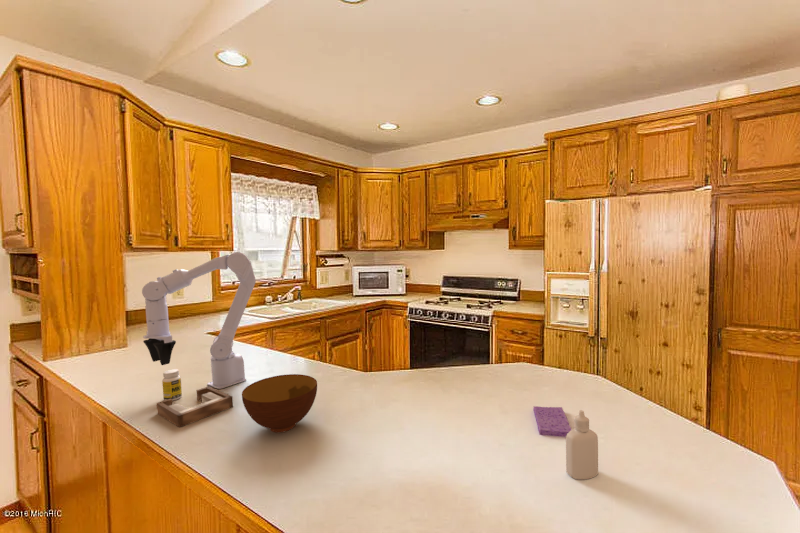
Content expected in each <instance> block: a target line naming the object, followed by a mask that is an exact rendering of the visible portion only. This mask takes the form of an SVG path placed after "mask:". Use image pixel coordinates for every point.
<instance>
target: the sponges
mask: <svg viewBox="0 0 800 533" xmlns="http://www.w3.org/2000/svg"><path fill="white" fill-rule="evenodd" d="M532 408H533V413H534V418H535V422H536V426H537V431H538V435H539V436H551V437H562V438H563V437H565V438H566V436H567V434H568V433H569V432H570V431H571V430H572V427H571V425H570V422H569V420H568V418H567V416H566V414H565V411H564V408H563V407H562V406H561V407H559V406H550V407H547V406H536V405H534V406H533V407H532Z"/></svg>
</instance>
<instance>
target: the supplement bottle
mask: <svg viewBox="0 0 800 533" xmlns="http://www.w3.org/2000/svg"><path fill="white" fill-rule="evenodd" d="M162 376H163V379H162V381H161V382H162V383H161V384H162V393H163V394H162V395H163V401H165V400H168V399H172V402H173V401H177V400H179V399H181V398H182V396H183V394H182V379H181V378H182V377H181V376H180V370H179V369H178V368H173V369H168V370H165V371H163V373H162Z"/></svg>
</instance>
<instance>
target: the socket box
mask: <svg viewBox="0 0 800 533" xmlns="http://www.w3.org/2000/svg"><path fill="white" fill-rule="evenodd" d="M196 400H197V401H198V402H199V400H200V401H201V404H197V405H194V406H191V407H189V408H188V407H185V406H184V405H182V404H180V403H178V402H177V403H174V404H173V401H172V399H168V400H165V401H164V400H161V401H158V402H157V403H156V412H157V415H159V416H160V417H162V418H164V419H165V420H167V421H169V422H170V423H172V424H174V425H175V426H177V427H178V428H181V427H184V426H186V425H190V424H192V423H194V422H197V421H200V420H202V419H205V418H207V417H211V416H213V415H215V414H218V413H221V412H223V411H226V410H228V409H230V408H233V407H234V405H233V403H234V402H233V401H234V400H233V396H232V395H230V394H228V393H226V392H224V391H223V392H222V391H221V390H219V389H217V388H214V387H212V386H209V385H207V386H206V387H205V386H204V387H203V388H199V389H196Z"/></svg>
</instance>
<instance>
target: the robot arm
mask: <svg viewBox="0 0 800 533" xmlns="http://www.w3.org/2000/svg"><path fill="white" fill-rule="evenodd" d="M228 269H229V270H230V271H232V272H233V273H234V274H235V275H236V277H237V279H238V281H239V284H238V288H237V289H236V292H235V294H234V295H235V296H234V297H233V300H232V303H231V305H230V307H229V310H228V312H227V315H226V318H225V319H224V321H223V325H222V327H221V329H220V331H219V334H218V335H217V336H216V337H215V338H214V340H213V342H212V344H211V345H210V346H211V347H210V350H209V352H210V355H211V356H210V366H211V377H212V378H211V380H212V381H211V382H207V384H206V385H207V386H209V387H211V388H214V389H216V390H222V389H225V388H227V387H230V386H233V385H235V384H240V383H243V382H245V381H247V378H246V375H245V361H244V360H245V359H244V358H243V355H241V354H240V353H235V352H234V351H233V346H234V338H235V335H236V333H237V330H238V328H239V324H240V322H241V320H242V317H243V315H244V313H245V310H246V308H247V304H248V302H249V300H250V297H251V295H252V293H253V291H254V289H255V288H254V287H255V285H256V283H257V282H256V280H257V279H256V277H255V272H254V268H253V266H252V262H251V260H250V259H249V258H248V256H247V255H246V254H245V253H243V251H242V252H240V251H235V252H232V253H229V254H225V255H222V256H218V257H214V258H212V259H210V260H209V261H206V262H204V263H202V264H200V265H198V266H195V267H193V268H191V269H189V270H187V269H183V268H180V269H178V268H176V269H173V270H172V272H171V273H169V274H167V275H164V276H158V277H156V280H154V281H153V280H152V281H149V282H147V283H146V284H145V285H144V286H143V287H142V289H141V294H142V296H143V298H144V299H145V300H144V301H145V319H146V329H147V330H146V335H143V336H142V338H143V339H145V340H143V341H142V342H143V343H144V345H145V346H146V348H147V349H148V352H149V354H150V357H151V358H150V359H151V361H152V362H153V363H154V362H155V363H156V362H157V361H159V362H160V365H161V366H165V365H168V364H170V362H171V358H172V353H173V349H174V347H175V346H176V343H177V342H176V340H174V339H173V335H171V331H170V323H169V321H170V320H169V308H168V303H167V295H169V294H170V295H171V294H173V293H176V292H177V291H180V290H183V289H185V288H187V287H189V286H191V285H192V283H193V280H194V279H197V278H199V277H201V276H204V275H206V274H209V273H211V272H214V271H216V270H224V271H225V270H228Z"/></svg>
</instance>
